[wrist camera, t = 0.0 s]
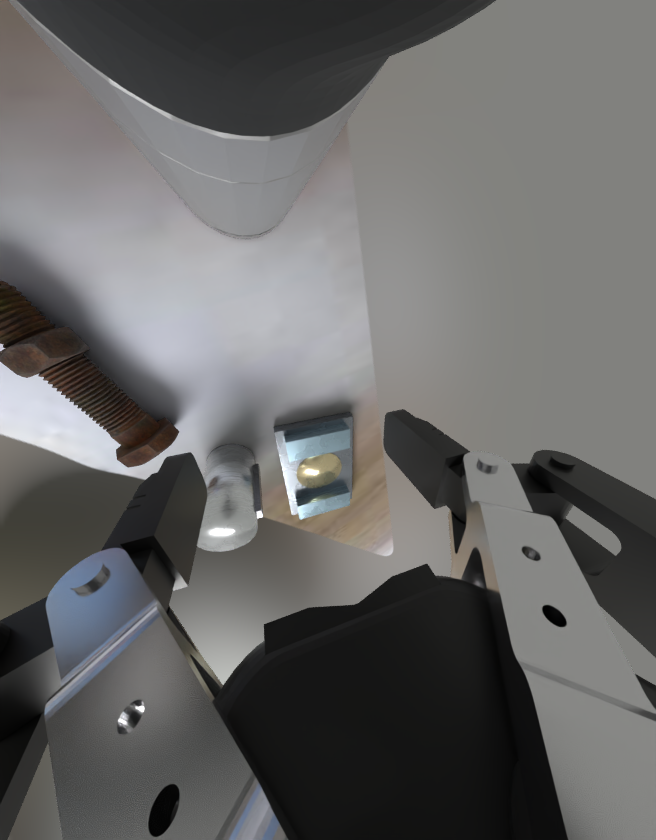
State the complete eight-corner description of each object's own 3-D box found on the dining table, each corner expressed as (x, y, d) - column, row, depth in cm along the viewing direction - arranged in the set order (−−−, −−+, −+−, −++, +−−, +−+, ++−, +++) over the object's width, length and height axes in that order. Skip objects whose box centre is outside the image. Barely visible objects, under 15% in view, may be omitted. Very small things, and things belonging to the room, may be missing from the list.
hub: (200, 450, 28) (181, 523, 19) (253, 439, 29) (256, 503, 21) (215, 482, 31) (203, 558, 22) (262, 471, 32) (268, 538, 24)
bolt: (33, 283, 18) (172, 424, 27) (-55, 311, 16) (128, 455, 24) (11, 262, 14) (185, 437, 22) (-110, 295, 12) (132, 476, 20)
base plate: (273, 427, 29) (275, 440, 27) (349, 412, 31) (357, 422, 29) (290, 509, 37) (293, 524, 35) (349, 492, 40) (355, 506, 37)
